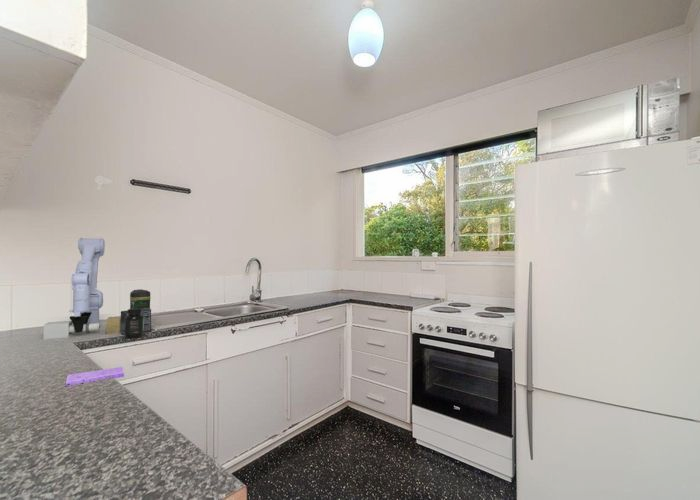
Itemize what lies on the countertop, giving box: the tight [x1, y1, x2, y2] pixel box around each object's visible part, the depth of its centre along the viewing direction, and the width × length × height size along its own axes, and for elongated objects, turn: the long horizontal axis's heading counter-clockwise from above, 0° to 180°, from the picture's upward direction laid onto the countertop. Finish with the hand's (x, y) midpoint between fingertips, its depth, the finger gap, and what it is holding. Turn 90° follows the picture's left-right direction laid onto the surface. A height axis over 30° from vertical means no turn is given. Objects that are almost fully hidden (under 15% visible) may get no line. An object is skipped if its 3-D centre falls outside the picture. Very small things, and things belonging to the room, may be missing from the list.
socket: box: [105, 315, 121, 335], centre depth 148 cm, size 5×7×6 cm
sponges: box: [65, 366, 125, 387], centre depth 90 cm, size 7×13×2 cm, turn 127°
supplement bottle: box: [124, 308, 145, 339], centre depth 138 cm, size 7×7×12 cm
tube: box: [69, 322, 101, 334], centre depth 141 cm, size 18×4×4 cm, turn 119°
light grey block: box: [42, 320, 73, 341], centre depth 138 cm, size 8×6×6 cm
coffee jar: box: [129, 289, 151, 309], centre depth 159 cm, size 10×8×19 cm
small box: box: [120, 308, 152, 336], centre depth 146 cm, size 11×6×10 cm, turn 144°
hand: (80, 330), depth 142 cm, fingers open, 7 cm apart
